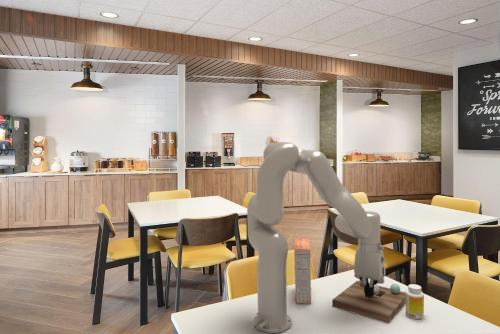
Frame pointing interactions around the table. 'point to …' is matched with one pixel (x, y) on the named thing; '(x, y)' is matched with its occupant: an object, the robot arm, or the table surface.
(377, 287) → the steel ball
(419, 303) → the supplement bottle
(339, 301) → the wooden board
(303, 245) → the cracker box
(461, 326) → the table surface
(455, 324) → the table surface
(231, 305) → the table surface
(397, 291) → the teal ball
